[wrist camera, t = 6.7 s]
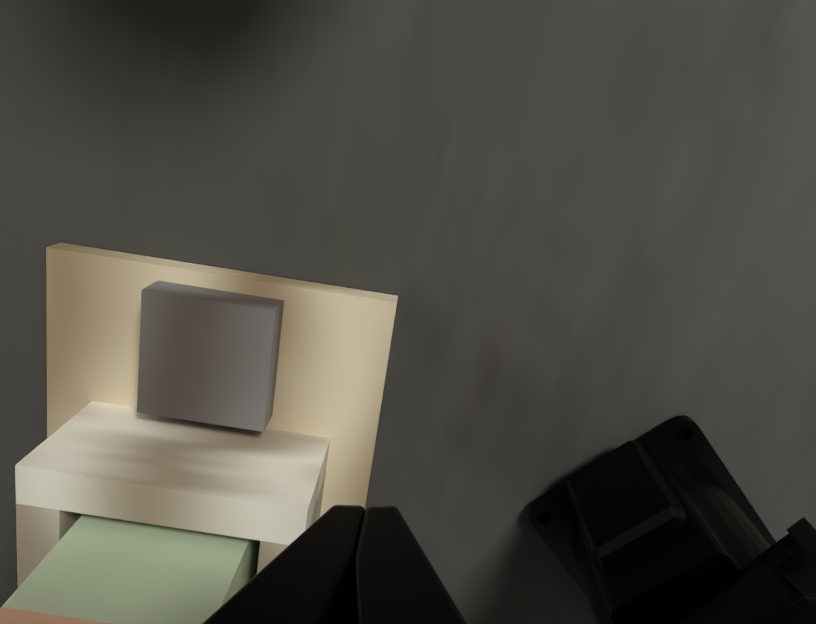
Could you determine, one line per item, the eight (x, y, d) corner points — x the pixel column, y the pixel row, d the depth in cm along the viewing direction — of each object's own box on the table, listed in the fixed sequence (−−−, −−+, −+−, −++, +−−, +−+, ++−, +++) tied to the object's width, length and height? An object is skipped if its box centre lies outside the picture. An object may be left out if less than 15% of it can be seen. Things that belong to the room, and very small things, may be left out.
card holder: (398, 295, 21) (388, 347, 16) (331, 723, 26) (309, 857, 22) (60, 242, 21) (-49, 279, 16) (59, 682, 26) (-24, 808, 21)
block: (272, 487, 21) (192, 672, 14) (259, 607, 23) (180, 831, 16) (126, 464, 21) (-28, 639, 14) (122, 586, 23) (-20, 802, 16)
